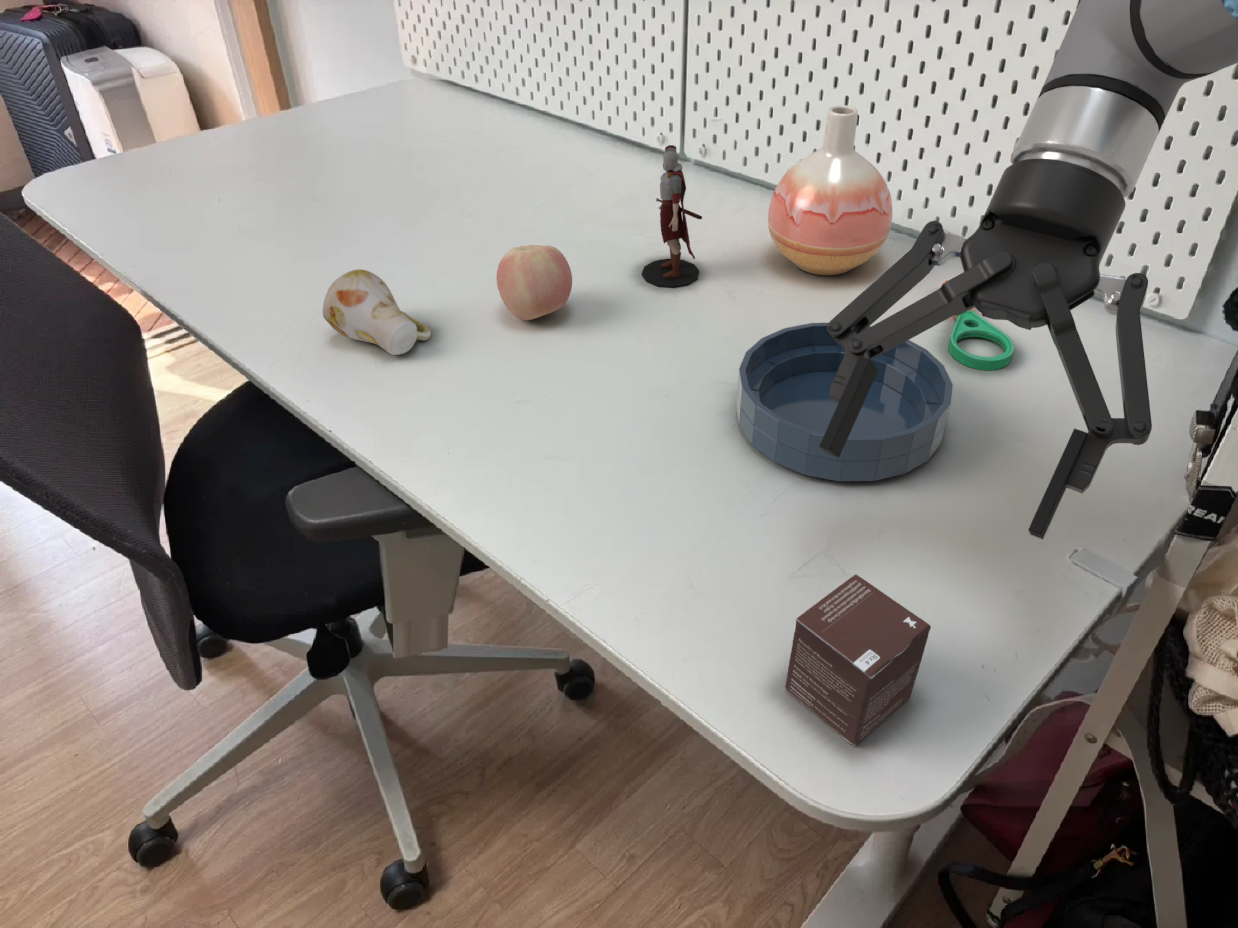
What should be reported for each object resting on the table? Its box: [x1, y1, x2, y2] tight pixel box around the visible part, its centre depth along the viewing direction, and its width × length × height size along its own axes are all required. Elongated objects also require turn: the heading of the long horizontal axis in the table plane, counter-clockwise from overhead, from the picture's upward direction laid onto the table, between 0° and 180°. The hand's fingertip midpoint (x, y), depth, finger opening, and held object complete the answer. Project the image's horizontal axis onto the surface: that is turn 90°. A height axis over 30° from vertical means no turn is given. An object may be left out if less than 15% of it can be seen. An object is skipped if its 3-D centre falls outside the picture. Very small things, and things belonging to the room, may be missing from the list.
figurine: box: [641, 144, 703, 289], centre depth 103 cm, size 7×7×15 cm
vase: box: [767, 104, 893, 276], centre depth 103 cm, size 14×14×18 cm
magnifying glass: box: [941, 279, 1015, 371], centre depth 96 cm, size 15×6×2 cm, turn 179°
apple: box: [496, 244, 573, 321], centre depth 98 cm, size 8×8×8 cm
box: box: [784, 574, 932, 747], centre depth 60 cm, size 6×6×7 cm
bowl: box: [735, 322, 954, 482], centre depth 84 cm, size 18×18×5 cm
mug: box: [322, 269, 432, 356], centre depth 96 cm, size 8×10×10 cm
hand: (926, 492), depth 59 cm, fingers open, 13 cm apart
